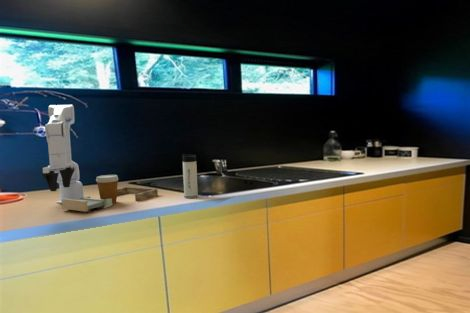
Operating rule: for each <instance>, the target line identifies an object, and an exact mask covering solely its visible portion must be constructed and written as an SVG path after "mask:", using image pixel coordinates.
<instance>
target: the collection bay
mask: <svg viewBox="0 0 470 313" xmlns="http://www.w3.org/2000/svg"><path fill="white" fill-rule="evenodd" d="M124 194H134V196H135V200H134V201H135V202H140V201H143V200H147V199H150V198H153V197H157V196H159V193H158V189H157V188H148V187H147V188H146V187H137V186H136V187H133V186H124V187H119V188H117V196H120V195H121V196H122V195H124Z"/></svg>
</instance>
